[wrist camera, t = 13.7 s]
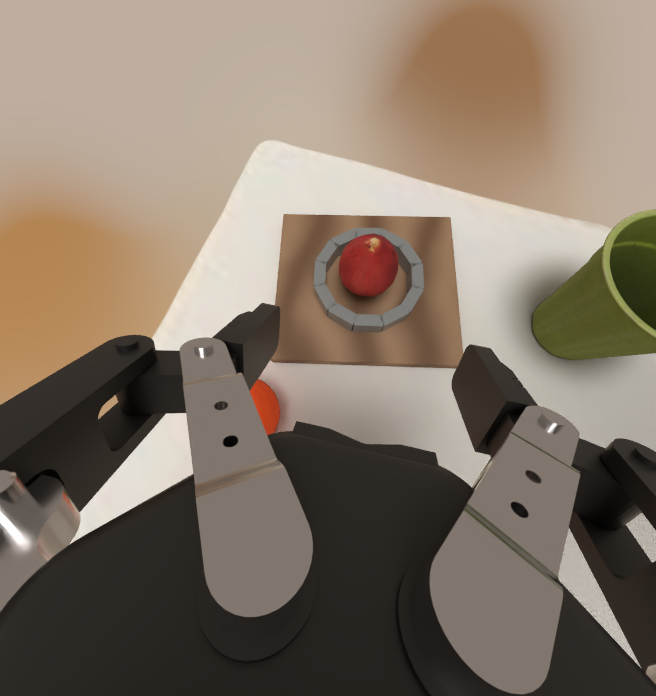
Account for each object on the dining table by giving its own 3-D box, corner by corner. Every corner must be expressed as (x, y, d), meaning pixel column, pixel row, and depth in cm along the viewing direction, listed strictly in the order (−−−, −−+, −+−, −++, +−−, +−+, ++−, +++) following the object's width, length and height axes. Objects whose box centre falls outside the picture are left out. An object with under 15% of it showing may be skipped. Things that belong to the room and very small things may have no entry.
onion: (350, 254, 31) (356, 200, 24) (397, 272, 31) (419, 222, 23) (329, 297, 30) (329, 253, 22) (378, 316, 29) (395, 278, 22)
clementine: (244, 473, 27) (214, 491, 20) (198, 425, 28) (154, 427, 21) (299, 411, 28) (288, 408, 22) (252, 368, 30) (228, 352, 23)
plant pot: (633, 313, 31) (800, 255, 20) (595, 402, 28) (761, 392, 17) (533, 262, 32) (635, 182, 22) (490, 341, 30) (580, 297, 19)
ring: (415, 240, 32) (420, 228, 30) (420, 333, 29) (426, 327, 27) (317, 238, 32) (316, 226, 30) (312, 330, 29) (311, 324, 27)
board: (445, 226, 34) (450, 217, 32) (457, 368, 29) (464, 365, 28) (285, 223, 34) (283, 214, 33) (273, 362, 30) (270, 359, 28)
